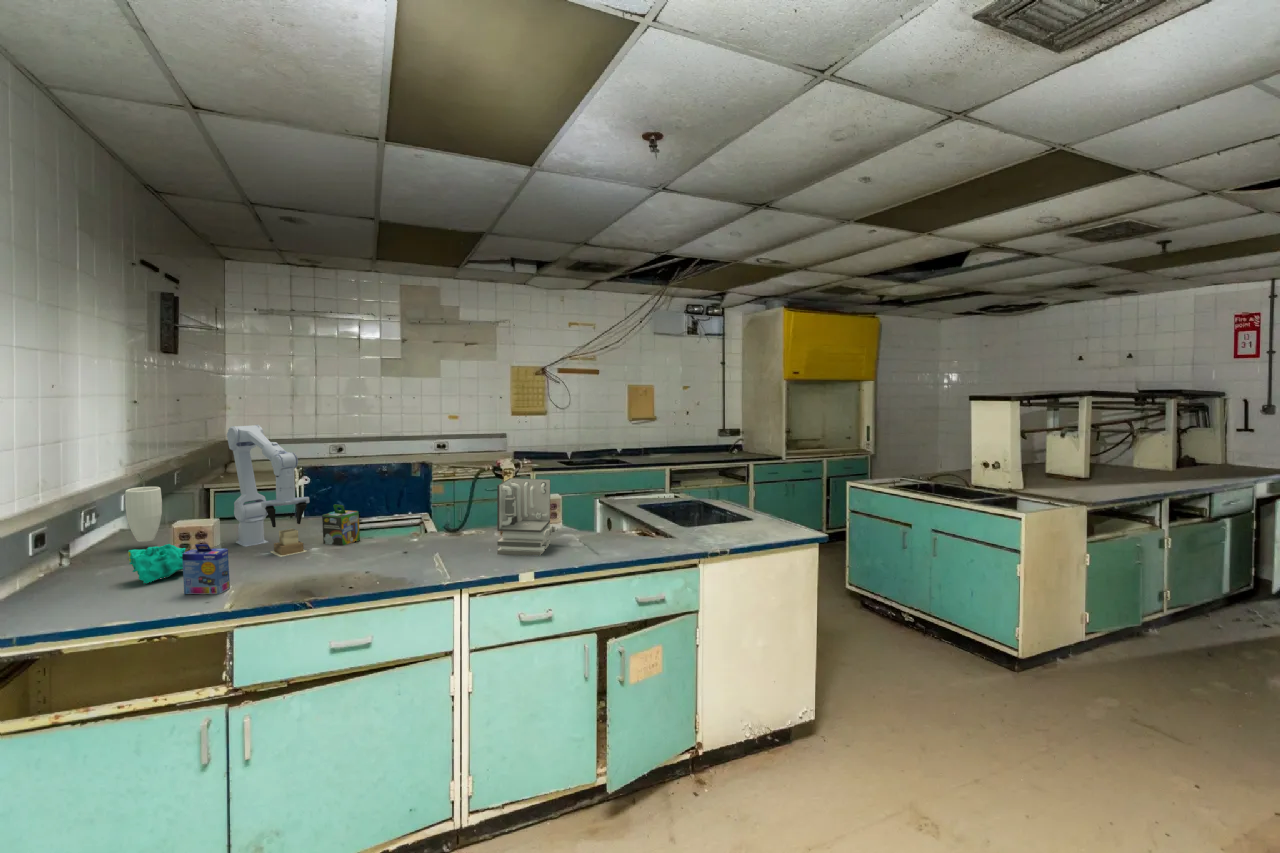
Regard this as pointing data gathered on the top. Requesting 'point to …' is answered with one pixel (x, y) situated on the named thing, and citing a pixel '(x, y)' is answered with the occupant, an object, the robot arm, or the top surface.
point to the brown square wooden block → (288, 548)
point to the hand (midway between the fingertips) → (286, 525)
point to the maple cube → (288, 537)
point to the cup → (143, 511)
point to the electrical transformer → (524, 516)
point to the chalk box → (340, 526)
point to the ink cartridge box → (205, 570)
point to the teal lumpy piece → (156, 562)
